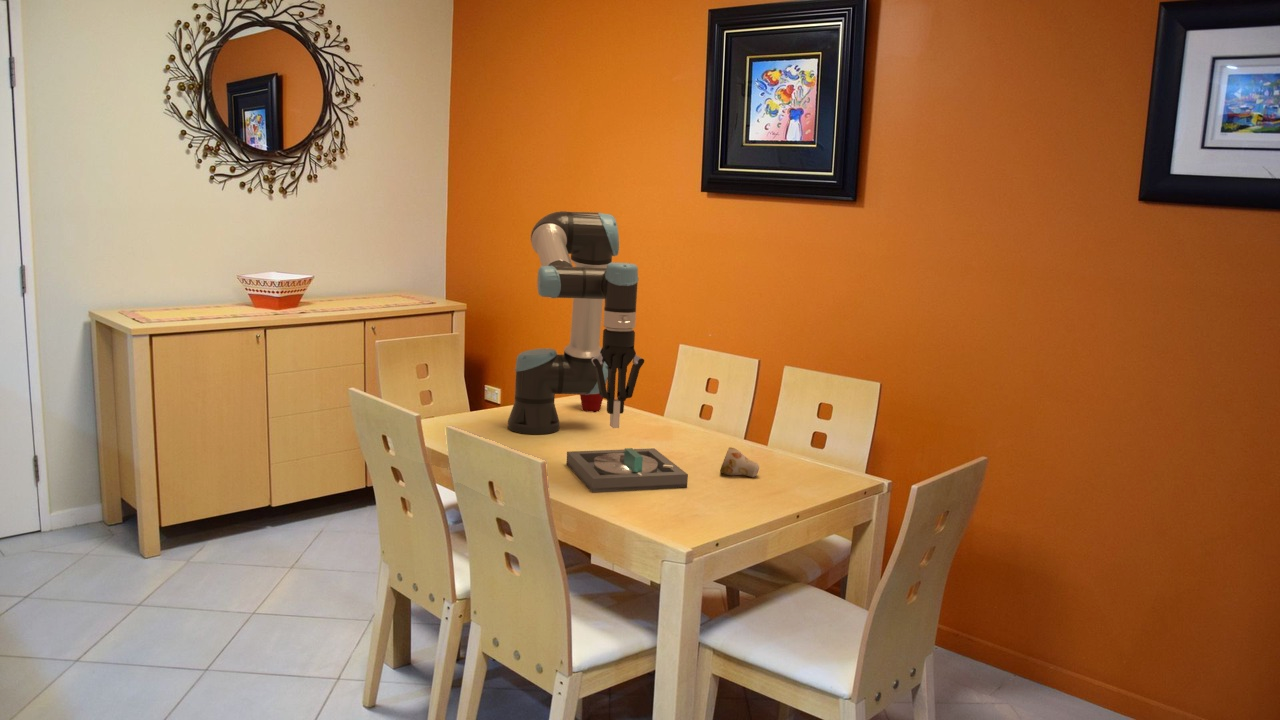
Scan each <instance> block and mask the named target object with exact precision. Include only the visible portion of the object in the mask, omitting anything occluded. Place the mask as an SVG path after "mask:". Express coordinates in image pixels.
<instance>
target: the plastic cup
mask: <svg viewBox="0 0 1280 720" xmlns="http://www.w3.org/2000/svg"><path fill="white" fill-rule="evenodd" d="M607 381H608V376H607ZM607 381H606V384H605V385H606V386H607ZM579 395H580V397H579V398H580V402H581V403H580V404H581V409H583V410H584V412H587V411H598V412H599V410H600V411H601V408H602V403H603V399H604V398H603V397H601V396H600V393H599V394H589V395H585V394H579ZM583 410H582V411H583Z"/></svg>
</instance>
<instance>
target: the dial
mask: <svg viewBox="0 0 1280 720" xmlns="http://www.w3.org/2000/svg"><path fill="white" fill-rule="evenodd" d="M624 449H625V451H624V453H609V454H603V455H599V456H597V457H596V458H595V459H594V467H593V468H594V469H595V470H596V471H597V472H598V473H599V474H600V475H616V474H637V473H657V466H658V462H657V461H656V460H655V459H653V458H651V457H648V456H644V455H640V454H639V453H637V452H636V451H635V450H634V449H635V448H632V447H629V448H628V447H627V448H624Z"/></svg>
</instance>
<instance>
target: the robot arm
mask: <svg viewBox="0 0 1280 720" xmlns="http://www.w3.org/2000/svg"><path fill="white" fill-rule="evenodd" d="M618 229H619V228H618V224H617V220H616V217H614V216H613V215H612V214H610V213H602V212H591V211H590V212H587V211H586V212H585V211H583V212H582V211H567V210H565V211H562V210H561V211H555V212H552V213H549V214H547V215H545V216H544V217H542V218H540V219H539V220H538V221H537V222H536V223H535V225H533V227H532V230H531V234H530V242H531V247H532V249H533V250H534V252H535V253H536V254H537V255H538V258H539V261H540V267H539V268H538V271H537V281H536V283H537V285H536V287H537V294H538V295H539V296H540V297H544V298H551V299H556V298H557V299H572V312H571V322H570V323H571V325H570V326H571V327H570V337H569V338H570V339H569V344H568V345H566V346H565V347H564V349H563V354H558V352H557V350H555V349H554V348H535V349H530V350H525V351H522V352H520V353H519V354H518V355H517V357H516V361H515V362H516V363H515V368H514V371H515V381H514V382H515V384H514V401H513V402H514V404H513V406H512V409H511V411H510V414H509V416H508V418H507V419H508V420H507V429H508V430H509V431H512V432H515V433H519V434H524V435H548V434H552V433H553V434H554V433H557V432H558V431H559V430H560V419H559V415H558V412H557V411H558V410H557V409H556V404H555V399H556V398H555V396H556V395H580V394H585V395H589V394H599V393H600V396H601V397H603V399H605V400H606V412H607V413H608V414H609V416H610V417H609V426H610V427H611V428H612V429H620V420H621V419H620V416H621V415H620V414H624V411H625V401H626V400H627V399H630V398H631V399H632V397H633V395H634V391H635V387H636V385H637V384H636V383H637V380H638V376H639V373H640V370H641V368H642V366H643V365H644V363H645V359H644V358H642V357H640V356H638V355H637V354H636V352H637V351H636V350H635V339H636V332H635V330H634V329H635V328H636V319H637V318H636V317H637V297H638V282H639V275H638V274H639V273H638V272H639V268H638V265H636V263H631V262H630V263H629V262H613V261H612V260H613V257H616V256H618V255H619V252H620V237H619V236H620V235H619V230H618ZM573 264H574V265H575V266H573ZM603 302H604V303H603ZM603 305H604V308H603ZM602 317H603V318H602ZM602 319H603V323H602ZM602 325H603V327H604V329H603V331H602V346H600V342H601V341H600V339H601V329H602ZM631 363H632V365H631V368H630V371H629V374H628V379H627V373H628V366H629V365H630V364H631ZM607 376H608V379H607ZM616 376H617V377H616ZM616 378H617V380H616ZM606 381H607V383H606ZM616 381H617V390H616ZM605 384H606V385H605ZM616 391H617V392H616ZM615 393H617V394H615ZM615 397H617V398H615Z"/></svg>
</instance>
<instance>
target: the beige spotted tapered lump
mask: <svg viewBox="0 0 1280 720" xmlns="http://www.w3.org/2000/svg"><path fill="white" fill-rule="evenodd" d="M759 470H760V465H759V463H758V462H756V461H753V460H751V459H749V458H748V457H747V456H745V454H743V453H742V452H741V451H740V450H738V449H737V448H735V447H731V446H730V447H728V449H727V452H726V453H725V456H724V458H723V461H722V464H721V467H720V469H719V471H720V472H721V473H722V474H724V475H728V476H745V477H750V478H755V477H756V476H758V474H759V472H760V471H759Z"/></svg>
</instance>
